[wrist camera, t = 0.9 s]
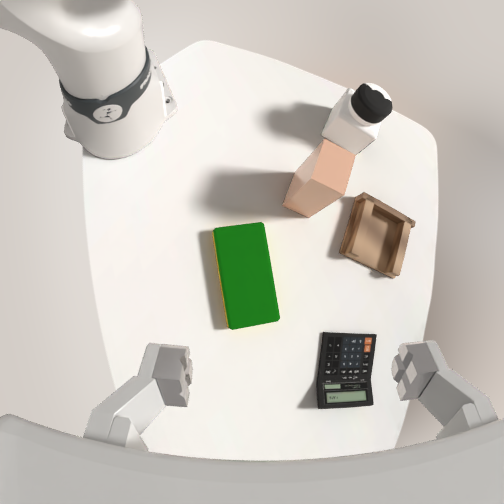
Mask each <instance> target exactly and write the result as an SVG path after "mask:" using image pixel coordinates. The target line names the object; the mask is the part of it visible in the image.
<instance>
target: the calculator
mask: <svg viewBox="0 0 504 504" xmlns="http://www.w3.org/2000/svg"><path fill="white" fill-rule="evenodd" d="M375 343H376V334H352V333H330V332H323V337H322V345H321V353H320V361H319V369H318V376H317V401H318V409H330V408H347V407H361V406H371V405H373V395H372V387H371V373H372V366H373V359H374V351H375Z"/></svg>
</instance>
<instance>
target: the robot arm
mask: <svg viewBox="0 0 504 504" xmlns="http://www.w3.org/2000/svg"><path fill="white" fill-rule="evenodd" d="M142 20H143V19H142V14H141V11H140V9H139V8H138V6H137V5H136V4H135V3H134V2H133V1H132V0H0V28H2V29H5V30H8V31H11V32H13V33H16V34H18V35H20V36H22V37H24V38H25V39H27V40H29V41H30V42H32V43H34V44H35V45H36V46H37V47H38V48H40V49H41V50H42V51H43V53H44V54H45V55H46V57H47V58H48V59H49V61H50V63H51V64H52V66H53V68H54V69H55V71H56V73H57V75H58V77H59V83H60V88H61V92H62V94H63V99H64V103H63V105H62V111H63V114H64V116H65V118H66V124H65V130H64V133H65V135H66V137H67V138H69V139H71V140H74V141H77V142H79V143H80V144H81V145H82V146H83V147H84V148H85V149H86V150H87V151H88V152H90V153H91V154H93V155H95V156H97V157H100V158H106V159H118V158H123V157H127V156H130V155H133V154H135V153H137V152H139V151H140V150H142V149H143V148H145V147H146V146H147V145H148V144H150V143H151V142H152V141H153V139H154V138H155V137H156V136H157V134H158V133H159V131H160V129H161V127H162V125H163V124H164V123H165V121H167V120H168V119H169V118H171V117H172V116H173V115H174V114H175V113H176V112H177V110H178V107H177V103H176V101H175V99H174V96H173V94H172V92H171V89H170V87H169V85H168V82H167V80H166V78H165V76H164V73H163V71H162V69H161V66H160V64H159V62H158V59H157V57H156V55H155V53H154V51H153V50H150V49H147V48H146V46H145V41H144V31H143V21H142ZM167 101H169V102H170V103H166V102H167ZM398 352H399V354H398V355H397V356H395V357H394V359H393V362H392V368H391V370H392V376H393V379H394V380H395V381H396V382H398V385H397V391H398V395H399V398H400V401H403V400H411V399H417V398H419V399H418V400H419V401H420V402H421V403H422V404H423V405H424V406H425V407H426V408H427V409H428V410H429V411H430V413H431V414H432V415H434V417H435V418H436V419H437V420H438V421H439V422H440V423H441V424H442V425H443V426H444V428H443V429H442V430H441V431H440V432H439V433H438V434H437V436H436V438H437V439H436V440H432V441H428V442H423V443H419V444H415V445H410V446H405V447H400V448H395V449H390V450H384V451H378V452H372V453H365V454H358V455H350V456H341V457H331V458H319V459H305V460H279V461H248V460H222V459H207V458H196V457H186V456H177V455H169V454H162V453H155V452H148V448H147V446H146V445H145V443H144V441H143V440H142V438H141V437H140V434H141V433H142V432H143V431H144V430H145V429H146V428H147V427H148V426H149V425H150V423H151V422H152V421H153V420H154V419H155V418H156V417H157V416H158V415H159V413H160V412H161V411H162V410H163V409H164V408H165V407H166V406H179V407H187V405H188V399H189V388H188V386H189V385H190V384H191V381H192V370H193V369H192V361H191V359H189V355H190V351H189V347H187V346H177V345H167V344H156V343H149V344H148V345H147V347H146V350H145V353H144V357H143V360H142V363H141V366H140V369H139V373H138V376H133V377H132V378H131V379H130V380H128V381H127V382H126V383H125V384H124V385H122V386H121V387H120V388H119V389H117V390H116V391H115V392H114V393H113V394H111V395H110V396H109V397H108V398H107V399H105V400H104V401H103V402H102V403H100V404H99V405H98V406H97V407H95V408H94V409H93V410H92V413H91V415H90V418H89V421H88V424H87V427H86V430H85V433H84V436H83V438H82V437H79V436H75V435H71V434H68V433H64V432H61V431H58V430H55V429H52V428H48V427H45V426H42V425H39V424H37V423H33V422H31V421H28V420H26V419H23V418H20V417H18V416H15V415H11V414H6V415H4V416H1V417H0V504H504V418H502V419H499V420H498V418H497V415H496V412H495V410H494V408H493V405H492V403H491V401H490V399H489V397H488V396H486V395H485V394H484V393H483V392H482V391H480V390H479V389H478V388H476V387H475V386H474V385H472V384H471V383H470V382H468V381H467V380H466V379H465V378H463V377H462V376H461V375H459V374H458V373H457V372H455V371H454V370H453V369H449V368H448V365H447V363H446V361H445V359H444V357H443V355H442V353H441V351H440V349H439V347H438V345H437V343H436V342H435V341H434V340H431V341H420V342H411V343H402V344H401V345H400V346H399V348H398ZM165 405H166V406H165Z"/></svg>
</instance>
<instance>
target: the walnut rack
mask: <svg viewBox="0 0 504 504" xmlns="http://www.w3.org/2000/svg"><path fill="white" fill-rule="evenodd" d="M412 227H415V221H414V220H412V219H410V218H409V217H407V216H405V215H404V214H402V213H400V212H399V211H397V210H395V209H393V208H392V207H390V206H388V205H386V204H385V203H383V202H381V201H379V200H378V199H376V198H374V197H372V196H370V195H369V194H367V193H365V192H363V193H362V194H360V195H358V196H356V198H355V201H354V205H353V208H352V212H351V215H350V219H349V222H348V225H347V229H346V232H345V235H344V239H343V242H342V245H341V248H340V251H339V253H340V254H343V255H345V256H347V257H349V258H351V259H353V260H355V261H358V262H360V263H362V264H364V265H366V266H368V267H370V268H372V269H374V270H377V271H379V272H381V273H383V274H385V275H387V276H389V277H391V278H395V276H399V275H400V271H401V267H402V263H403V259H404V255H405V251H406V247H407V243H408V238H409V234H410V229H411V228H412Z"/></svg>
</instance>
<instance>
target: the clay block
mask: <svg viewBox="0 0 504 504" xmlns="http://www.w3.org/2000/svg"><path fill="white" fill-rule="evenodd" d="M355 156H356V155H355V154H353V153H351V152H349V151H347V150H346V149H344V148H342V147H340V146H338V145H336V144H334V143H332V142H330V141H328V140H326V139H324V140H323V141H322V142H321V143H320V144H319V146H318V147H317V148H316V149H315V150H314V151H313V152H312V153H311V155H310V156H309V157H308V158H307V159H306V160H305V161H304V162H303V164H302V165H301V166H300V167H299V168H298V169H297V170H296V172H295V173H294V176H293V178H292V181H291V184H290V186H289V189H288V192H287V194H286V197H285V200H284V202H283V205H282V206H284V207H286V208H288V209H290V210H293V211H295V212H297V213H299V214H301V215H303V216H306V217H308V218H310V217H311V216H313V215H314V214H316V213H317V212H319V211H320V210H322V209H324V208H325V207H327V206H328V205H330V204H331V203H333V202H334V201H336V200H337V199H339V198H340V197H342V196H344V194H345V191H346V188H347V184H348V181H349V177H350V174H351V170H352V167H353V163H354V159H355Z"/></svg>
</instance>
